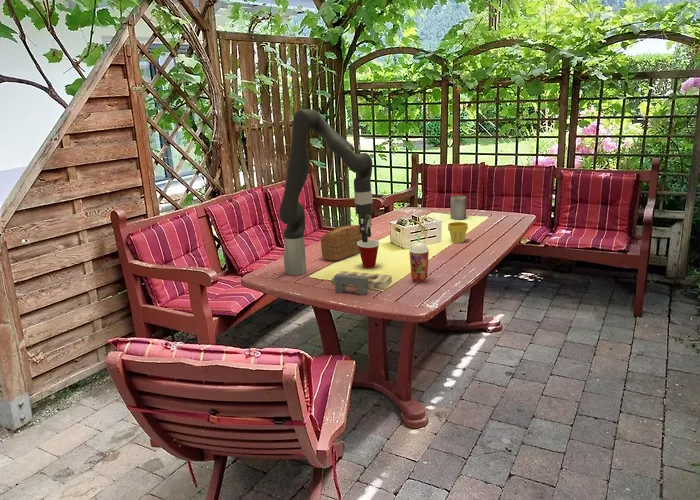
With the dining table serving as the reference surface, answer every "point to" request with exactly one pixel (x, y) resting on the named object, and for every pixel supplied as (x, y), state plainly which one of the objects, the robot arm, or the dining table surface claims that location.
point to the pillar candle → (458, 207)
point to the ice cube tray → (370, 279)
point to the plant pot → (457, 231)
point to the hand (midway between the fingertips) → (366, 239)
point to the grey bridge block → (351, 282)
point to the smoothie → (419, 261)
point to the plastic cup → (368, 252)
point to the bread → (341, 242)
